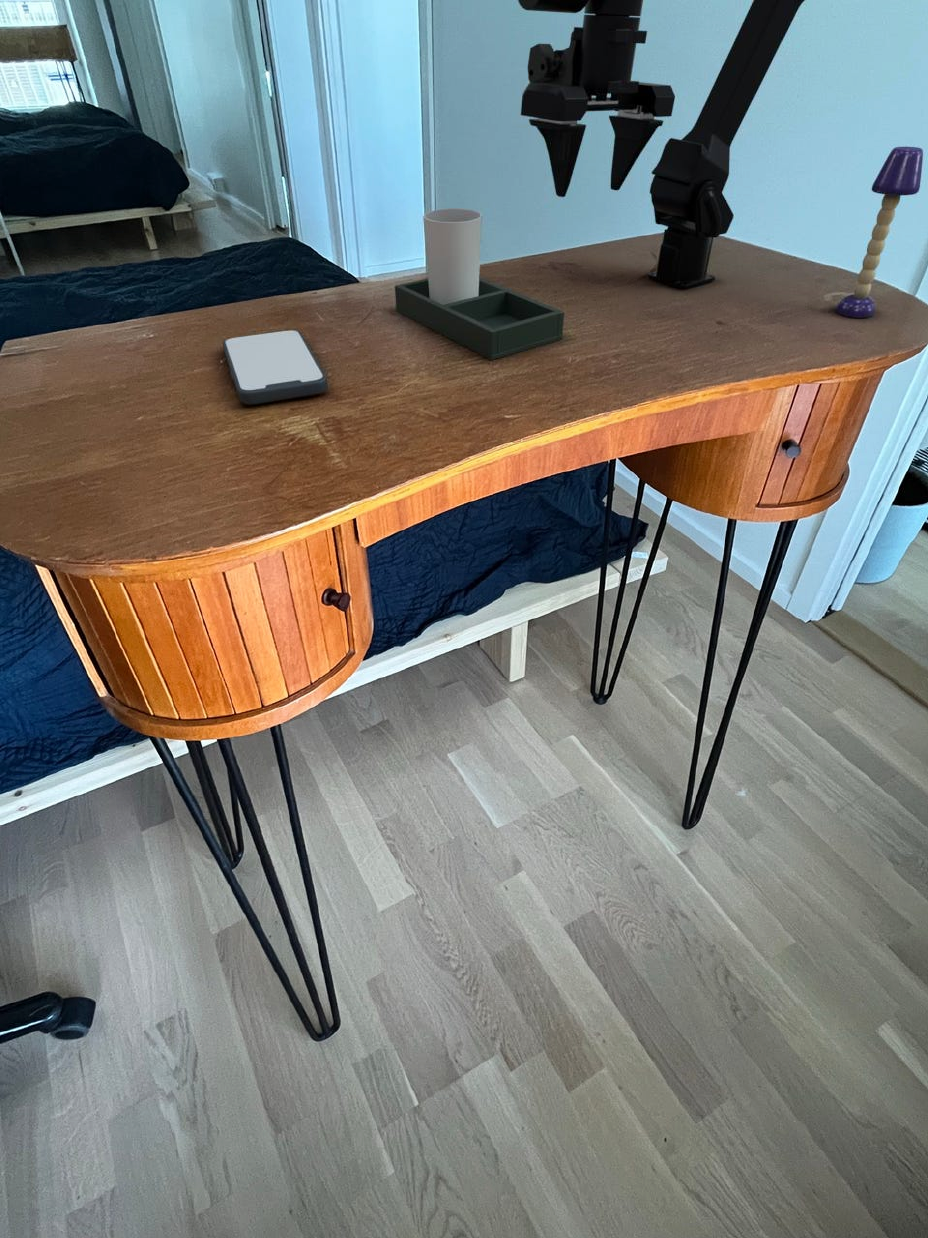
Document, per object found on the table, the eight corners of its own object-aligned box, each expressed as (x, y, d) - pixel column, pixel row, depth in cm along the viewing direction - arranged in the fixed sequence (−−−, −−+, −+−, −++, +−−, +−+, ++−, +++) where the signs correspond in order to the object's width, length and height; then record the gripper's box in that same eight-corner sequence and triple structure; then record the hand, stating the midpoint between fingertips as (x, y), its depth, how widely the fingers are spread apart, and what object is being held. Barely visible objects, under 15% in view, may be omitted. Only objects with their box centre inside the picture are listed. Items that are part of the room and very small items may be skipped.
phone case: (223, 353, 79) (241, 410, 67) (219, 338, 78) (237, 393, 66) (302, 341, 81) (332, 395, 70) (300, 327, 80) (330, 379, 69)
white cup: (488, 300, 88) (489, 209, 81) (472, 319, 83) (472, 224, 77) (437, 296, 89) (434, 206, 83) (419, 314, 85) (414, 220, 78)
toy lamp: (824, 309, 87) (875, 146, 75) (849, 302, 88) (903, 142, 77) (858, 320, 83) (917, 153, 72) (883, 313, 85) (944, 148, 74)
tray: (462, 294, 92) (462, 269, 90) (562, 339, 80) (564, 311, 78) (396, 310, 88) (394, 285, 86) (491, 360, 76) (491, 331, 74)
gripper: (612, 17, 81) (591, 175, 91) (490, 9, 72) (481, 187, 82) (692, 20, 75) (660, 190, 85) (570, 12, 65) (550, 205, 75)
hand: (588, 192), depth 82 cm, fingers open, 9 cm apart
